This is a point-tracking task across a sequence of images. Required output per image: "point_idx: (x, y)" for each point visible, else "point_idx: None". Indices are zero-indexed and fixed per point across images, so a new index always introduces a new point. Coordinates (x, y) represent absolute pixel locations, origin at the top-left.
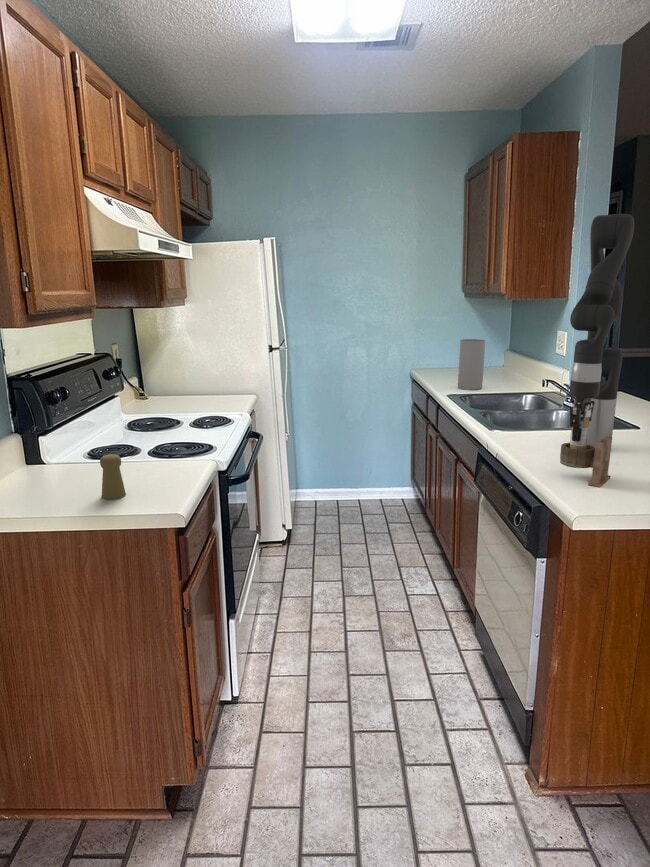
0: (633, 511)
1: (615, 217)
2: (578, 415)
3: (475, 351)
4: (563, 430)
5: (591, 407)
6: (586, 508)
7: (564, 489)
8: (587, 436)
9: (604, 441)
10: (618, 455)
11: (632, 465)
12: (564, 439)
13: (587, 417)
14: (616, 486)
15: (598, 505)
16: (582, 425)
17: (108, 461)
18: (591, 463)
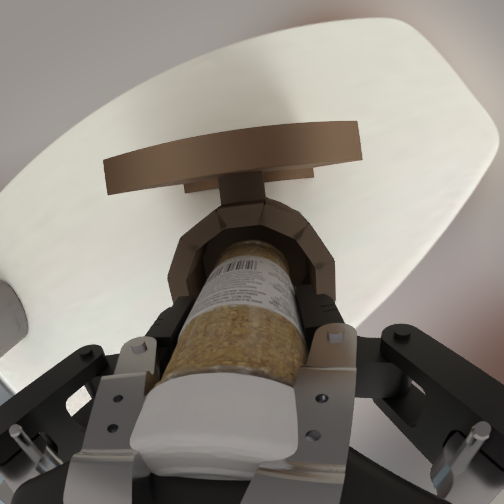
0: (412, 32)
1: None
2: (502, 389)
3: (9, 496)
4: (3, 380)
5: (101, 463)
6: (472, 123)
7: (397, 216)
8: (234, 274)
9: (257, 135)
10: (6, 249)
11: (35, 184)
12: (24, 372)
13: (259, 379)
14: (250, 107)
15: (441, 103)
16: (316, 341)
17: None
18: (265, 196)
